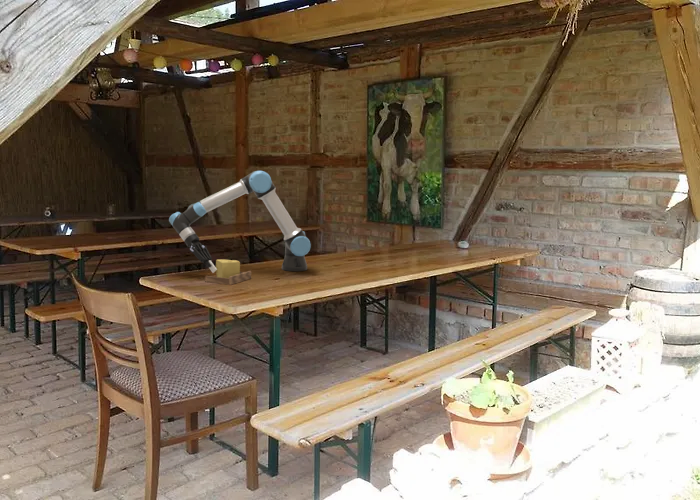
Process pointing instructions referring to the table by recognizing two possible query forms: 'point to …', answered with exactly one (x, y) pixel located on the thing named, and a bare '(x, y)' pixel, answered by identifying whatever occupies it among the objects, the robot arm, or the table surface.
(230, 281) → the brown wooden u frame
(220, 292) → the table surface
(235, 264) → the cheese
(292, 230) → the robot arm
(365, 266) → the table surface
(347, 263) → the table surface
